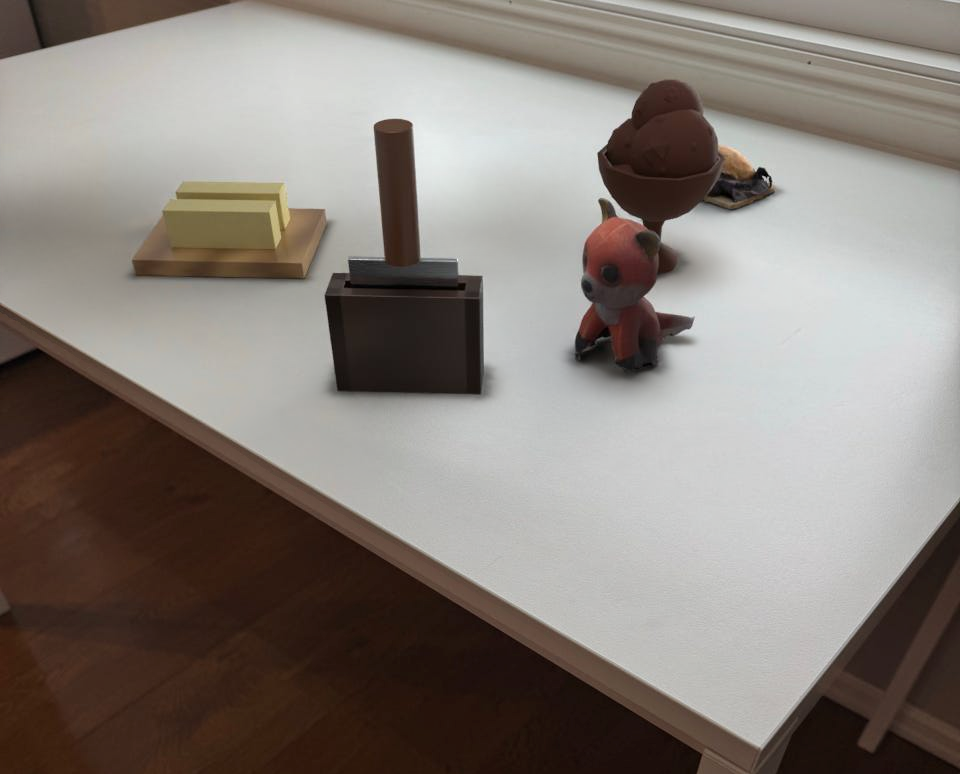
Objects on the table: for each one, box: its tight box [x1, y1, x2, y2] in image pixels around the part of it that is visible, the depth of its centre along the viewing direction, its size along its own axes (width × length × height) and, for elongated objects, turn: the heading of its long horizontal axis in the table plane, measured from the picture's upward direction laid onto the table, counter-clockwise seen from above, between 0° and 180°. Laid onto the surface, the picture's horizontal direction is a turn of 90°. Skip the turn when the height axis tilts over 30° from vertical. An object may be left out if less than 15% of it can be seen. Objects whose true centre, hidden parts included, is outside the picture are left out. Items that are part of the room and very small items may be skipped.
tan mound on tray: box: [703, 144, 776, 211], centre depth 102 cm, size 11×8×4 cm
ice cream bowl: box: [596, 78, 726, 275], centre depth 86 cm, size 11×11×15 cm
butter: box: [161, 180, 290, 250], centre depth 92 cm, size 10×7×4 cm
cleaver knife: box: [347, 118, 459, 290], centre depth 70 cm, size 8×3×19 cm, turn 86°
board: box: [131, 207, 328, 279], centre depth 94 cm, size 16×12×2 cm
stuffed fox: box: [574, 197, 696, 372], centre depth 75 cm, size 8×11×12 cm
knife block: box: [324, 272, 485, 395], centre depth 74 cm, size 11×4×8 cm, turn 86°
